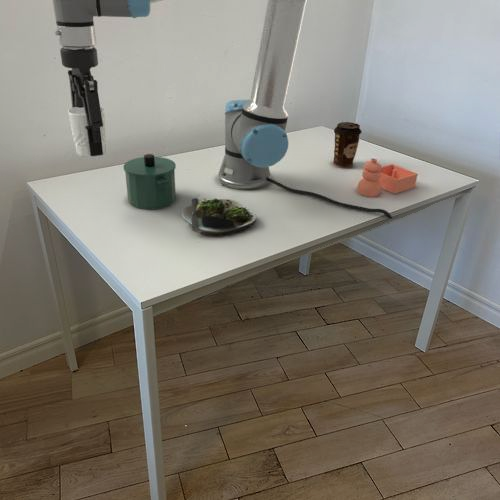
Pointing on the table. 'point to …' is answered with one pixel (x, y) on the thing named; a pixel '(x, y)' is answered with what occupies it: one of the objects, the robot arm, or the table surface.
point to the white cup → (84, 131)
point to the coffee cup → (346, 143)
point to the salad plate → (218, 217)
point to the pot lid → (149, 166)
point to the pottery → (385, 179)
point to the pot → (151, 191)
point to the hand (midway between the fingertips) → (91, 149)
